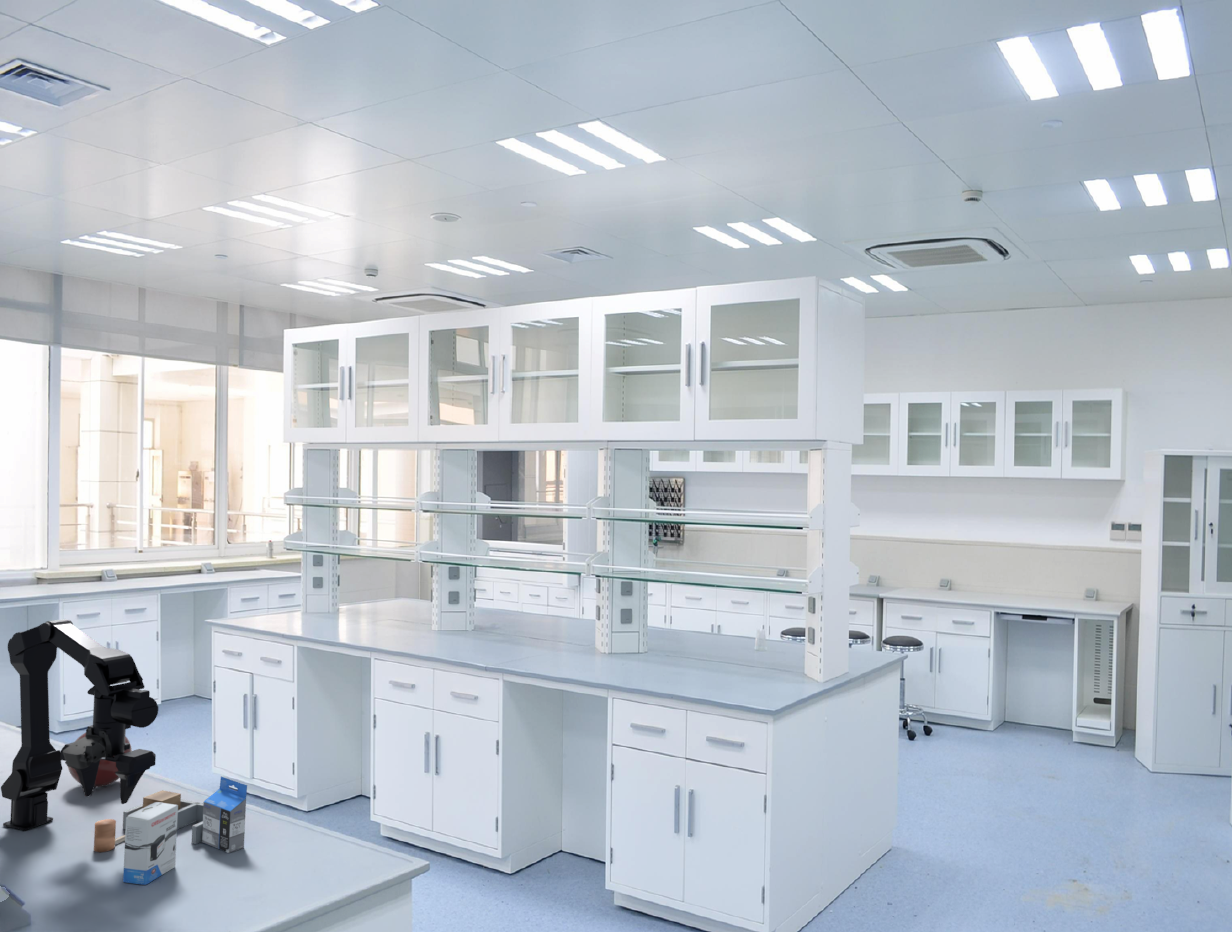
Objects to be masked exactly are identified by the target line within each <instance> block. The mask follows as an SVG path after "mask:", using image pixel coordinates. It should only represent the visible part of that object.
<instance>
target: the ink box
mask: <svg viewBox="0 0 1232 932" xmlns="http://www.w3.org/2000/svg"><path fill="white" fill-rule="evenodd" d="M177 817H178V805H174V804H167V803H161V802H155V803H153V804H150V805H148V806H146V807H144V808H142V809H140V810H138V811H136V812H134V813H132V814H130V815H128V817H126V829H124V830H125V833H124V835H125V841H124V852H123V853H124V854H123V855H124V856H123V858H124V859H123V879H122V883H127V884H135V885H142V886H144V885H145V886H147V885H149V884H150V883H151V882H153V881H154V880H157V879H159V878H160V877H161V876H163V875H164V874H166V873H167V872H170V871H171V870H172V869H174V868H176V858H177V854H176V853H177V836H178V835H177V834H178V829H177Z"/></svg>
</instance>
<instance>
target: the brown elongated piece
mask: <svg viewBox="0 0 1232 932" xmlns="http://www.w3.org/2000/svg"><path fill="white" fill-rule="evenodd" d="M142 798H143V799H142V804H143V808H144V807H146V806H148V805H150V804H153V803H155V802H161V803H167V804H174V805H178V810H179V809H180V804H181V799H182V793H178V792H173V791H168V790H164V789H162V790H159V791H157V792H154V793H152V794H149V795H146V796H143V797H142ZM116 827H117V820H116V819H113V818H106V819H102V820H101V819H99V820H97V821H96V822H95V823H94V832H93V833H94V837H93V852H97V853H106V852H109V851H112V850H114V849H115V847H116V845H118V844H121V843H123V842H125V834H124V835H121V836H118V837H116Z"/></svg>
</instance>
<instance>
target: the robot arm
mask: <svg viewBox="0 0 1232 932" xmlns="http://www.w3.org/2000/svg"><path fill="white" fill-rule="evenodd" d="M58 649H59V650H61V651H62V652H64V653H65V654H66V655H67V656H69V657H70V658H72V659H73V660H74V661H76V662H77V663H78V664H80V665H81V666H82V668H83V670H84V671H83V675H84V677H86V678H87V679H88V681H89V682H90V683H91V684H92V685H93V686H91V688H89V690H87V694H88V695H91V696H93V709H92V711H93V713H92V725H88V726H87V728H86V730H85V732H86V735H85V737H83V738H81V739H79V740H77V739H76V740H77V741H76V740H75V741H76V742H75V741H73V742H69V743H67V744H64V745H63V747H62V748H61V750H60V749H58V750H57V749H55V747H54V746H53V745H52V744H51V739H50V735H51V734H50V705H49V704H50V703H49V702H50V700H49V697H50V696H49V671H50V669H51V668H52V666H53V664H54V662H55V661H56V659H57V654H58ZM7 651H8V656H9V662H10V665H11V666H12V668H13V669H15V671H16V672H17V674H19V691H20V693H19V696H20V699H19V700H20V731H21V732H20V735H21V740H20V741H21V746H20V748H19V750H18V751H17V754H16V755H15V757H14V758H13V760H12V765H11V766H12V767H11V773H10V775H9V776H8V777H7V778H6V780H5V781H4V782H3V783H2V784H1V786H0V791H1V796H2V798H4V799H8V800H9V801H11V803H10V820H9V821H6V822H3V824H2V826H3V827H8V828H11V829H16V830H20V831H21V830H22V831H28V830H30V829H33V828H36V827H38V826H41V825H42V826H43V825H44V824H47V823H50V822H53V820H54V817H51V816H48V814H49V813H48V809H49V808H48V806H49V801H48V792H50V791H56V790H57V788H58V785H59V781H60V777H61V774H62V770H63V766H62V761H65V762H64V763H65V765H66V767H67V768H68V767H72V768H74V769H75V770H76V772H77V774H78V776H79V779H80V782H81V784H80V785H81V787H82V790H83V793H84V796H85V797H87V798H88V797H91V796H93V795H92V794H93V792H94V789H95V787H94V785H95V780H96V776H97V772H98V767H99V763H100V759H102V760H107V761H113V762H116V767H117V769H118V771H117V772H115V774H116V775H117V776H118V777H119V783H120V784H119V789H120V790H119V791H120V793H119V795H120V797H119V798H120V804H121V805H124V804H127V803H128V802H129V800H130V798H131V796H132V795H133V792H134V790H135V788H136V786H137V785H138V783H139V781H141V780H140V779H141V778H142V777H143V775H144V774H145V772H146V771H147V770H150V769H151V767H155V766H156V760H157V759H156V758H157V756H156V753H155V752H153V751H152V750H147V749H142V748H138V749H133V750H132V751H131V752H127V753H124V750H127V749H130V744H131V743H130V744H129V743H125V736H126V731H127V730H129V729H131V728H132V727H136V728H140V729H141V728H142V729H143V728H146V727H148V726H150V725H151V724H153V722H155V720H156V719H157V718H158V717H157V716H158V714H159V706H158V702H157V701H156V699H154V698H153V697H151V696H150V694H151V693H150V690H148V689H147V690H146V689H145V683H144V681H143V680H144V679H143V676H141V673H140V672H139V669H138V666H137V665H136V662H135V659H134V658H133V657H132V655H131V654H129V653H128V652H126V651H123V650H121V649H117V648H112V647H111V648H110V647H106V646H105V645H104V646H103V645H101V643H99V642H97V641H96V640H95V639H93V638H92V637H91V636H89V635H88V634H86V633H85V632H84V631H82V630H80V629H79V628H78V627H77V626H75V625H74V623H73V622H72V620H70V619H66V618H63V619H55V620H47V621H45V622H43V623H41V624H39V625H38V626H35V627H32V628H30V629H27V630H24V631H19V632H16V633H14V634H13V635H12V637H11V638H10V639H9V640H8V642H7Z"/></svg>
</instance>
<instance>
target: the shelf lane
mask: <svg viewBox="0 0 1232 932" xmlns="http://www.w3.org/2000/svg"><path fill="white" fill-rule="evenodd" d="M142 808H143V803H142V804H140V805H136V806H135V807H132V808H129V809H127V810H124V811H123V812H122V813H123V815H122V829H123V830H125V829H126V817H128V815H130V814H132V813H134V812H136V811H138V810H140V809H142ZM196 822H198V823H196ZM192 823H196V824H193V825H192V826H191V844H192V845H197V844H199V843H203V842H202V831H203V803H202V802H198V801H192V800H187V799H182V798H181V804H180V809H179V810H178V817H177V830H179V829H181V828H184V827H186V826H188V825H191V824H192Z"/></svg>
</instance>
